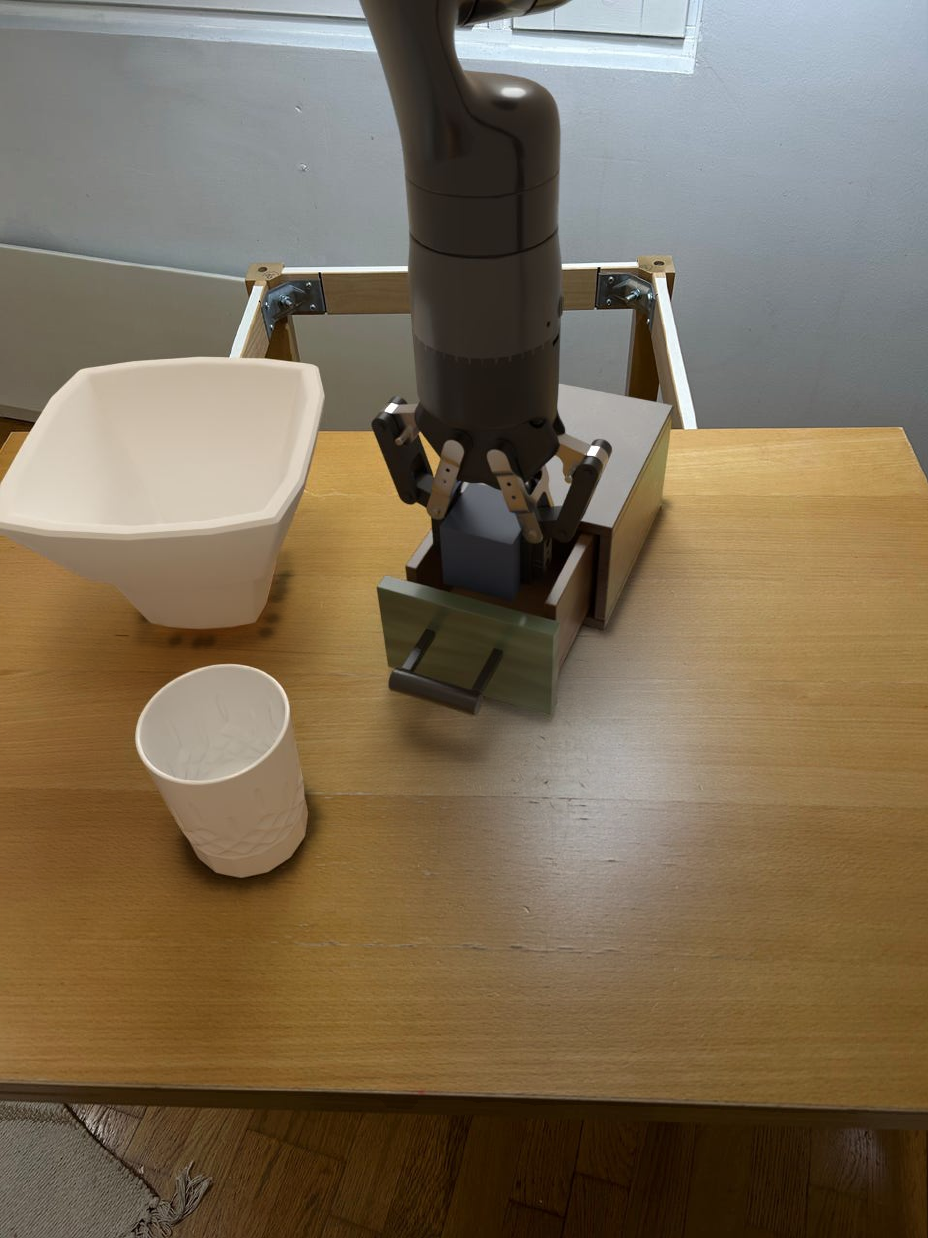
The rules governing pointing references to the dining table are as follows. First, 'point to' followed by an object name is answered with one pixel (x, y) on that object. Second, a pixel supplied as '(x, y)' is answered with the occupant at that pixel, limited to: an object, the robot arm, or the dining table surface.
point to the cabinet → (615, 481)
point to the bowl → (169, 481)
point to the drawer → (485, 630)
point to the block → (482, 544)
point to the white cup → (227, 766)
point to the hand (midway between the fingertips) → (492, 565)
